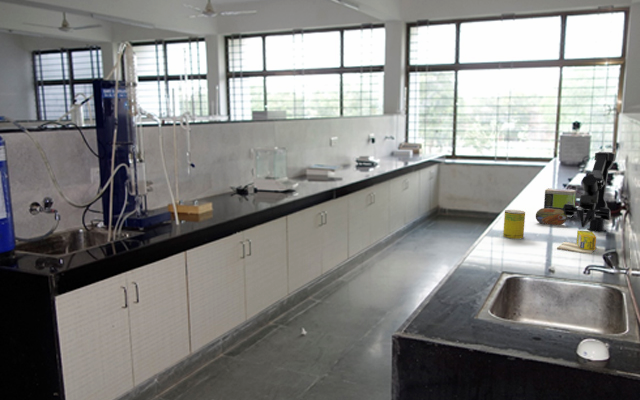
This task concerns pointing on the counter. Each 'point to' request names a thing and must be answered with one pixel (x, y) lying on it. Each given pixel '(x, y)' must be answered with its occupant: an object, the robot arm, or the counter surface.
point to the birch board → (574, 248)
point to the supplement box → (586, 240)
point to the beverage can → (514, 224)
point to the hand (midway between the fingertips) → (582, 226)
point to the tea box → (559, 198)
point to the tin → (551, 216)
